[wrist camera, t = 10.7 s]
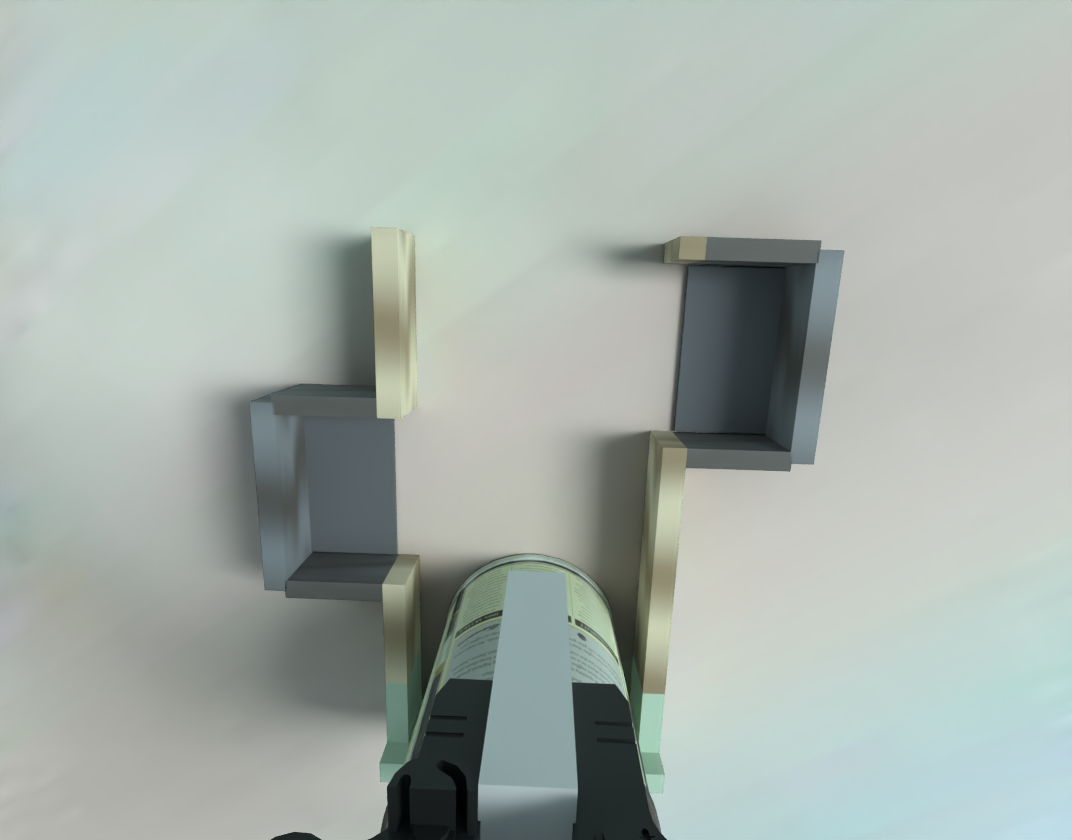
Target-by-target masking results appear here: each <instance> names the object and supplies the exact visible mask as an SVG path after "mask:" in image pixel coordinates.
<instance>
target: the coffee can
mask: <svg viewBox="0 0 1072 840" xmlns="http://www.w3.org/2000/svg"><path fill="white" fill-rule="evenodd" d="M509 570H511V571H534V572H558V573H565V575H566V593H567V610H568V627H569V644H570V662H571V679H572V682H580V683H602V684H616V686H617V687H618V688H619V690H620V691H621V693H622V694H623V695H624V697H625V698H626V699H627V701H628V702H629V697H628V692H627V687H626V683H625V678H624V673H623V668H622V663H621V657H620V654H619V649H618V644H617V639H616V635H615V631H614V621H613V615H612V612H611V609H610V605H609V603H608V601H607V599H606V597H605V595H604V594H603V592H602V591H601V589H600V588H599V586H598V585H597V584H596V583H595V582H594V581H593V580H592V579H591V578H590V577H589V576H588V575H587V574H585V573H584V572H583V571H581V570H580V569H578V568H577V567H575V566H573V565H571V564H570V563H568V562H566V561H564V560H561V559H558V558H554V557H548V556H545V555H537V554H523V555H514V556H509V557H505V558H503V559H499V560H496V561H493V562H491V563H489V564H488V565H486V566H484V567H482V568H480V569H479V570H478V571H476V572H475V573H474V574H472V575H471V576H470V577H469V578H468V579H467V580H466V581H465V582H464V583H463V584H462V586H461V587H460V588H459V590H458V591H457V593H456V594H455V596H454V598H453V600H452V602H451V604H450V608H449V611H448V616H447V622H446V627H445V630H444V633H443V637H442V640H441V643H440V646H439V650H438V653H437V656H436V660H435V663H434V667H433V670H432V673H431V676H430V680H429V683H428V686H427V690H426V693H425V696H424V700H423V703H422V706H421V709H420V712H419V716H418V719H417V723H416V726H415V728H414V732H413V736H412V739H411V743H410V746H409V749H408V753H407V756H406V759H405V763H404V765H405V764H406V763H407V762H408V761H411V760H413V759H415V758H418V757H419V753H420V750H421V746H422V742H423V739H424V736H425V732H426V728H427V724H428V721H429V719H430V714H431V710H432V706H433V703H434V699H435V696H436V694H437V693H438V692H439V691H440V689H441V688H442V687H443V686H444V685H445V684H446V682H447V681H448V680H449V679H450V678H455V679H477V680H493V677H494V670H495V663H496V656H497V649H498V642H499V635H500V628H501V621H502V614H503V607H504V600H505V593H506V586H507V579H508V572H509ZM629 708H630V713H631V718H632V726H633V728H634V734H635V739H636V744H637V749H638V754H639V760H640V765H641V770H642V775H643V780H644V786H645V791H646V796H647V801H648V806H649V810H650V813H651V817H652V820H653V822H654V823H655V825H656V827H657V828H658V830H659V832H660V833H661V829H660V824H659V820H658V816H657V812H656V809H655V806H654V803H653V800H652V798H651V796H650V793H649V789H648V785H647V780H646V775H645V771H644V766H643V761H642V756H641V751H640V746H639V741H638V737H637V733H636V728H635V724H634V720H633V715H632V710H631V706H630V702H629ZM387 827H388V805H387V807H386V811H385V814H384V818H383V822H382V827H381V832H382V831H384V830H385V829H386V828H387Z"/></svg>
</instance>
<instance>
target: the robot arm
mask: <svg viewBox="0 0 1072 840" xmlns="http://www.w3.org/2000/svg"><path fill="white" fill-rule="evenodd" d="M387 801H388V827H387V828H386V829H385V830H384V831H382V832H381V833H379V834H378V835H376V836H374V837H373V838H371V839H368V840H667V839H666V838H665V837H664V836H663V835H662V834H661V833H660V832H659V830H658V828H657V827H656V825H655V823H654V822H653V820H652V817H651V813H650V810H649V806H648V801H647V796H646V791H645V786H644V780H643V775H642V770H641V765H640V760H639V754H638V749H637V744H636V739H635V734H634V728H633V726H632V718H631V713H630V708H629V702H628V701H627V699H626V698H625V697H624V695H623V694H622V693H621V691H620V690H619V688H618V687H617V686H616V684H602V683H580V682H572V679H571V662H570V644H569V627H568V610H567V593H566V575H565V573H558V572H534V571H511V570H509V572H508V579H507V586H506V593H505V600H504V607H503V614H502V621H501V628H500V635H499V642H498V649H497V656H496V663H495V670H494V677H493V680H477V679H455V678H450V679H449V680H448V681H447V682H446V684H445V685H444V686H443V687H442V688H441V689H440V691H439V692H438V693H437V694H436V696H435V699H434V703H433V706H432V710H431V714H430V719H429V721H428V724H427V728H426V732H425V736H424V739H423V742H422V746H421V750H420V753H419V757H418V758H415V759H413V760H411V761H408V762H407V763H406V764H405V765H403V766H402V767H401V768H400V769H399V770H398V771H397V772H395V774H394V775H393V777H392V779H391V781H390V783H389V784H388V786H387ZM271 840H321V839H319V838H318V837H316V836H314V835H313V834H311V833H300V832H292V833H288V834H285V835H281V836H277V837H274V838H273V839H271Z"/></svg>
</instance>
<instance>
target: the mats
mask: <svg viewBox="0 0 1072 840" xmlns="http://www.w3.org/2000/svg"><path fill="white" fill-rule="evenodd" d="M785 273H786V269H773V268H741V267H709V266H688V274H687V285H686V297H685V308H684V320H683V332H682V343H681V355H680V366H679V378H678V389H677V401H676V412H675V424H674V431H693V432H723V433H752V434H766V427H767V419H768V411H769V403H770V395H771V387H772V379H773V370H774V362H775V354H776V346H777V338H778V330H779V322H780V314H781V305H782V297H783V289H784V281H785ZM304 432H305V448H306V465H307V481H308V498H309V515H310V531H311V548H312V551H319V552H346V553H374V554H397V514H396V473H395V432H394V419H387V418H358V417H328V416H304Z"/></svg>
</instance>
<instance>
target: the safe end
mask: <svg viewBox="0 0 1072 840" xmlns="http://www.w3.org/2000/svg"><path fill="white" fill-rule="evenodd" d="M385 688H386V719H387V744H386V747H385V749H384V752H383V755H382V758H381V761H380V782H390V781H391V779H392V777H393V775H394V774H395V772H397V771H398V770H399V769H400V768H401V767H402V766H403V765H404V763H405V759H406V756H407V753H408V749H409V746H410V743H411V739H412V736H413V732H414V728H415V726H416V723H417V719H418V716H419V712H420V709H421V706H422V703H423V700H424V699H422V687H421V647H420V649H419V652H418V655H417V658H416V661H415V663H414V666H413V669H412V672H411V674H410V677H409V680H408V683H407V684H390V683H385ZM664 696H665V694H645V693H643V692H642V688H641V684H640V680H639V676H638V671H637V667H636V663H635V659H634V655H633V663H632V676H631V689H630V706H631V710H632V715H633V720H634V724H635V728H636V733H637V737H638V741H639V746H640V751H641V756H642V761H643V766H644V771H645V775H646V780H647V785H648V789H649V793H661V794H663V788H664V778H665V774H664V770H663V766H662V762H661V758H660V754H659V750H660V740H661V729H662V718H663V707H664Z"/></svg>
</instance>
